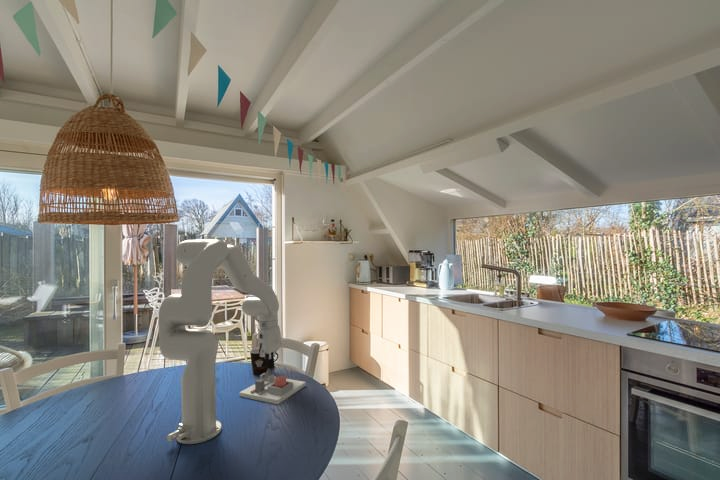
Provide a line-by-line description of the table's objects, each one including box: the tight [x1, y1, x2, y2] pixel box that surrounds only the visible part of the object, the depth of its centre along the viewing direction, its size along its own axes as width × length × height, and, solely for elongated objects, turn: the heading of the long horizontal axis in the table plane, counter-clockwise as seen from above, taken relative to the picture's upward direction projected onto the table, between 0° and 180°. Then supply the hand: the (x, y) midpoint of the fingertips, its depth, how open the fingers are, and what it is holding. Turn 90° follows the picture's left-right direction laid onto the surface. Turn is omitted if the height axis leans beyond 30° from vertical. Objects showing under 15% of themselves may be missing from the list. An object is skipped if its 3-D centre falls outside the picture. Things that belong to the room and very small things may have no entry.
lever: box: [264, 363, 278, 380], centre depth 146 cm, size 1×3×7 cm
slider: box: [254, 378, 265, 392], centre depth 134 cm, size 2×2×4 cm
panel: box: [238, 373, 306, 405], centre depth 138 cm, size 18×18×4 cm
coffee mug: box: [249, 347, 279, 376], centre depth 158 cm, size 12×9×10 cm
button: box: [274, 375, 287, 388], centre depth 134 cm, size 4×4×4 cm
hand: (270, 367), depth 146 cm, fingers closed
